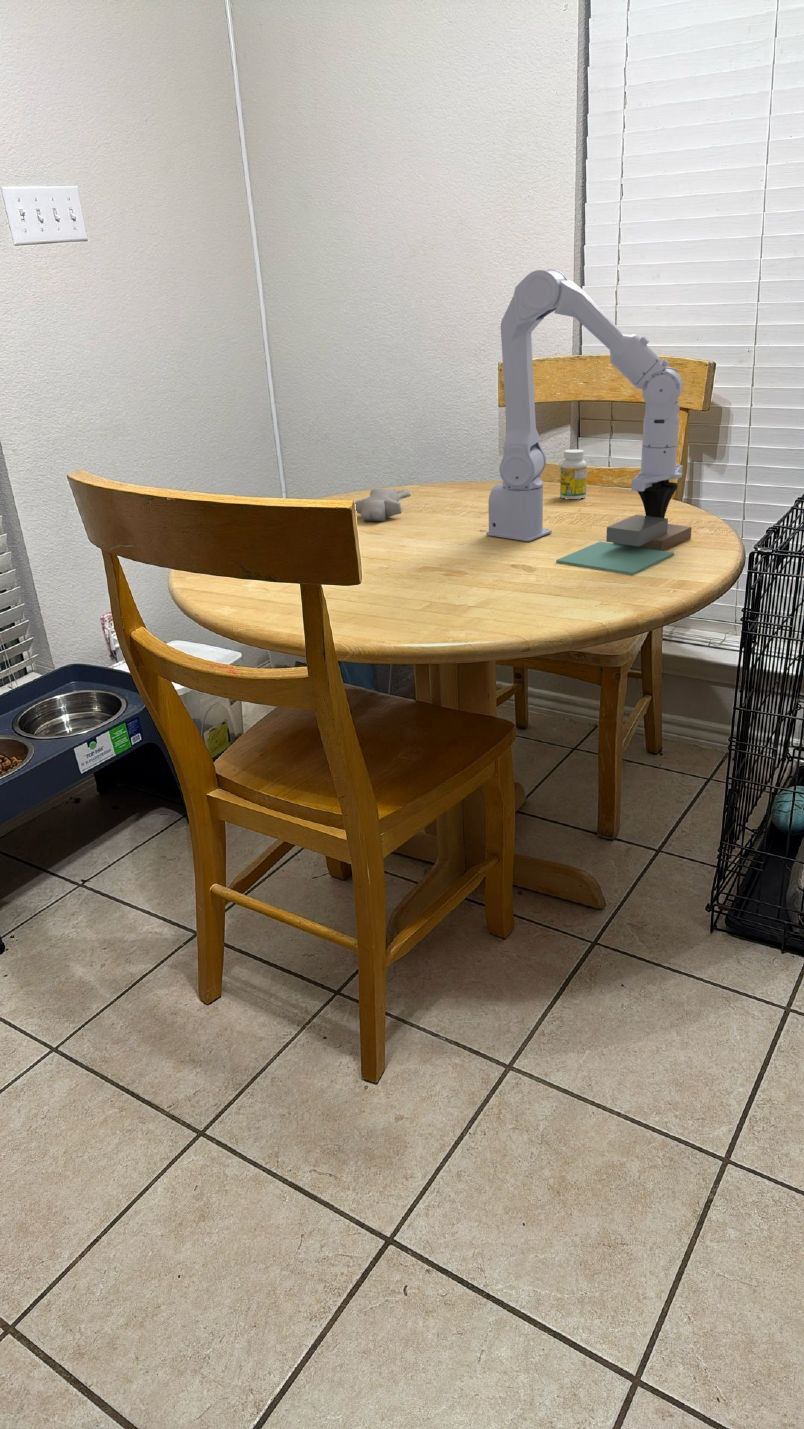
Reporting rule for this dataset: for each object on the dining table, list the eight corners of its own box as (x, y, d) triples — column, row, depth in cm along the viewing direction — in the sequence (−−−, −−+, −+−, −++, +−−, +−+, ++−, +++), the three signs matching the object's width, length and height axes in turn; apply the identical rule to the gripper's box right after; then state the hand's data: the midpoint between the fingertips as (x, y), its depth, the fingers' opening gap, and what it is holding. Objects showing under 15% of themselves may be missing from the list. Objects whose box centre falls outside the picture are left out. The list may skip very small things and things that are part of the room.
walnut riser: (613, 545, 168) (613, 533, 167) (643, 531, 175) (644, 520, 174) (661, 552, 162) (662, 540, 161) (690, 538, 170) (691, 526, 169)
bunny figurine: (346, 503, 190) (371, 479, 202) (349, 528, 193) (373, 503, 205) (392, 504, 187) (414, 480, 200) (394, 529, 190) (416, 504, 202)
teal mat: (556, 562, 159) (556, 560, 159) (599, 543, 169) (599, 541, 169) (632, 575, 151) (633, 572, 151) (674, 554, 160) (674, 552, 160)
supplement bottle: (590, 498, 203) (592, 451, 199) (568, 501, 201) (569, 454, 197) (577, 493, 207) (578, 447, 203) (555, 496, 206) (556, 450, 202)
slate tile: (606, 541, 162) (606, 527, 161) (635, 528, 169) (636, 514, 168) (638, 546, 159) (639, 531, 158) (667, 533, 166) (668, 518, 165)
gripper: (661, 453, 155) (656, 537, 161) (701, 440, 165) (695, 519, 170) (621, 450, 159) (618, 532, 165) (663, 437, 169) (658, 515, 175)
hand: (654, 525), depth 168 cm, fingers closed
